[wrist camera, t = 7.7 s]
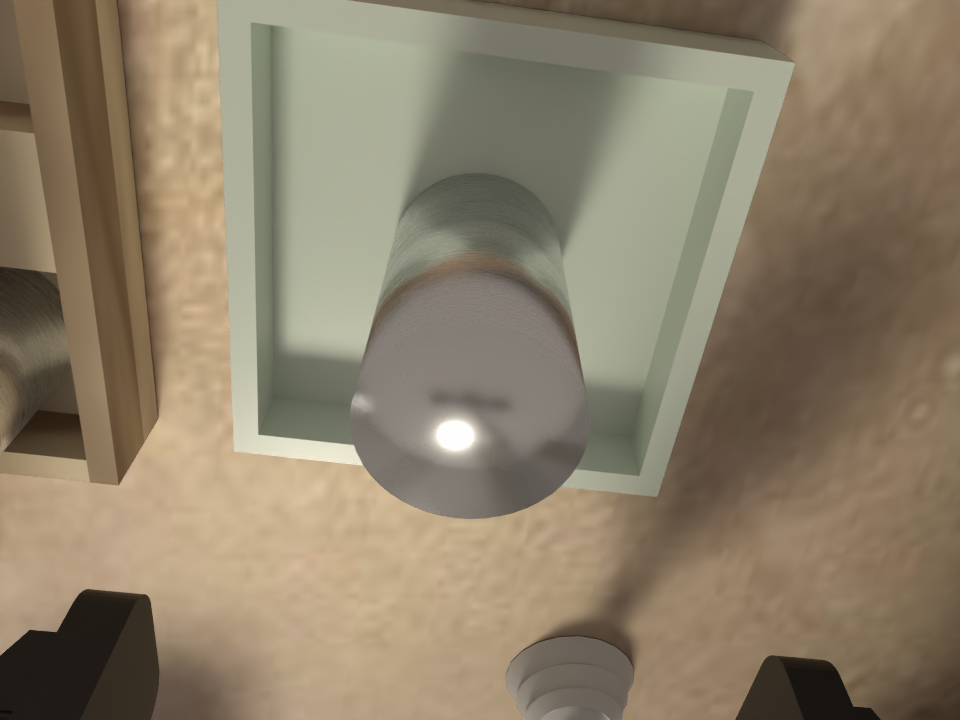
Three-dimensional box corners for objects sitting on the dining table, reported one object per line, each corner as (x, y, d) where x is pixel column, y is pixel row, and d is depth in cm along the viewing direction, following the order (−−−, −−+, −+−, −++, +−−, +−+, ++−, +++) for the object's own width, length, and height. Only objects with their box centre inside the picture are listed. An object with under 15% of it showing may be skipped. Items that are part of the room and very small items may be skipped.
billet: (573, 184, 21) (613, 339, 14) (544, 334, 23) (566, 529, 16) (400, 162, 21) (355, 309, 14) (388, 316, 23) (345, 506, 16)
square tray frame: (762, 41, 20) (795, 62, 18) (644, 445, 26) (657, 497, 24) (246, -32, 19) (215, -19, 17) (255, 402, 25) (233, 451, 23)
